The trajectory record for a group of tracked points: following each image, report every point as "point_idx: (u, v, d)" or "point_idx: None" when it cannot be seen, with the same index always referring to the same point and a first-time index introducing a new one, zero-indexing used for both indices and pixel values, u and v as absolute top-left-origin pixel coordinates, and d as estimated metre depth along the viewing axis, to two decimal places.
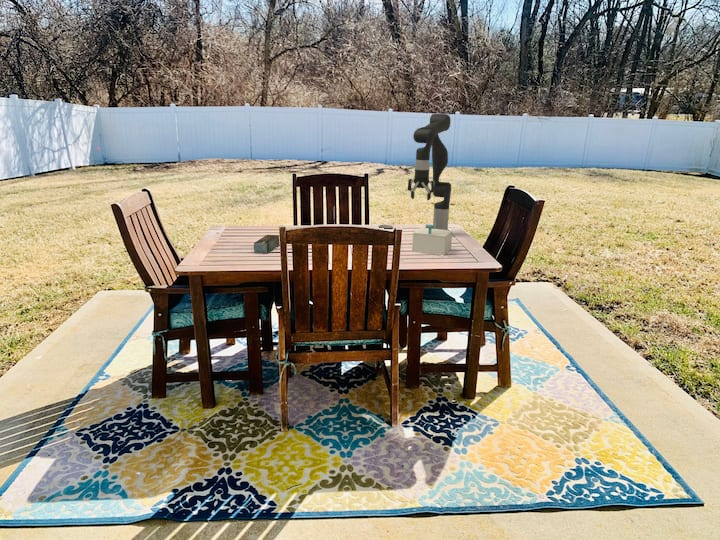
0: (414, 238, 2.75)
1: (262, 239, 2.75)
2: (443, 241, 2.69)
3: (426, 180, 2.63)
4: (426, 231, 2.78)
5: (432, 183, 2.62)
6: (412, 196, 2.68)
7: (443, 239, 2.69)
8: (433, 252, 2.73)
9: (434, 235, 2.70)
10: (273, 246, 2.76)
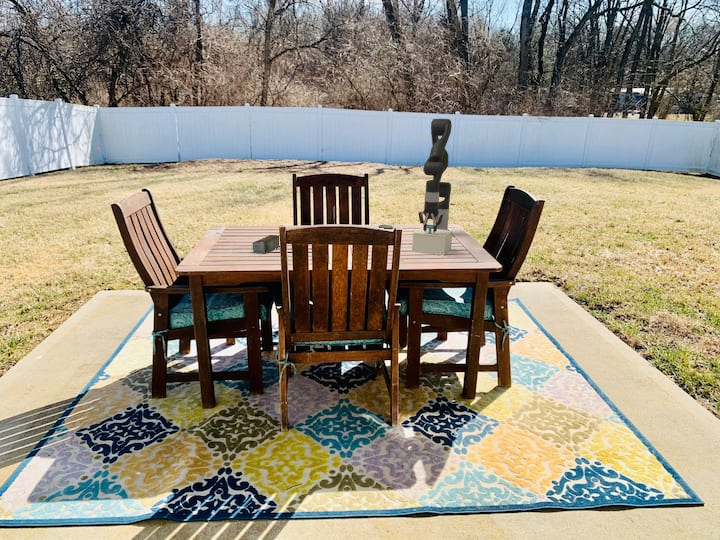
0: (414, 238, 2.75)
1: (263, 239, 2.75)
2: (443, 241, 2.69)
3: (436, 212, 2.66)
4: (426, 231, 2.78)
5: (441, 217, 2.66)
6: (425, 229, 2.72)
7: (443, 239, 2.69)
8: (433, 252, 2.73)
9: (434, 235, 2.70)
10: (273, 246, 2.75)
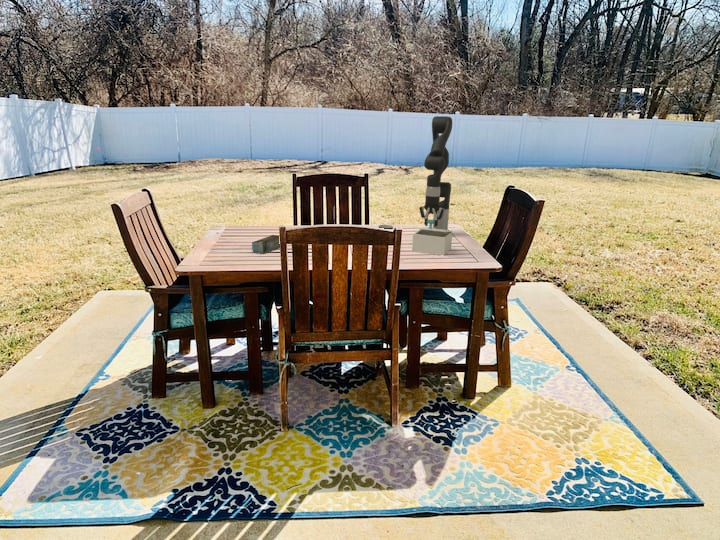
0: (414, 238, 2.75)
1: (263, 239, 2.75)
2: (443, 241, 2.69)
3: (437, 206, 2.67)
4: (426, 228, 2.78)
5: (442, 211, 2.66)
6: (426, 223, 2.72)
7: (443, 239, 2.69)
8: (433, 252, 2.73)
9: (435, 230, 2.69)
10: (273, 247, 2.75)
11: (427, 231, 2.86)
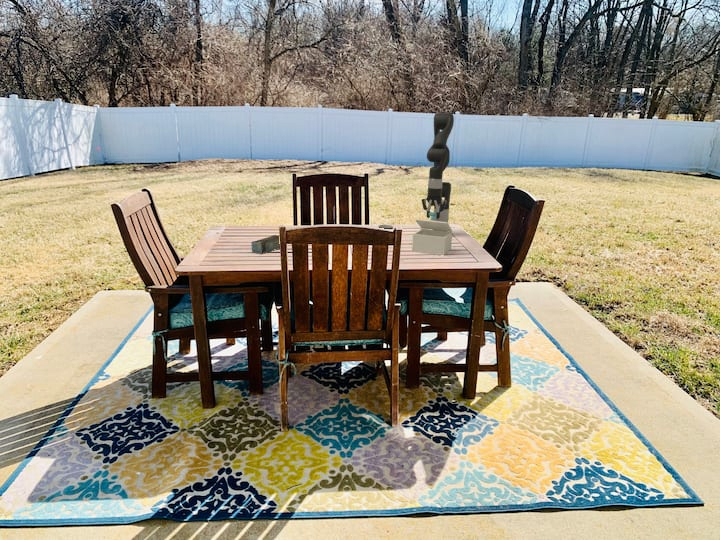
0: (414, 238, 2.75)
1: (263, 239, 2.75)
2: (443, 241, 2.69)
3: (439, 198, 2.69)
4: None
5: (444, 203, 2.68)
6: (428, 215, 2.74)
7: (443, 239, 2.69)
8: (433, 252, 2.73)
9: (436, 221, 2.70)
10: (273, 247, 2.74)
11: (427, 231, 2.86)
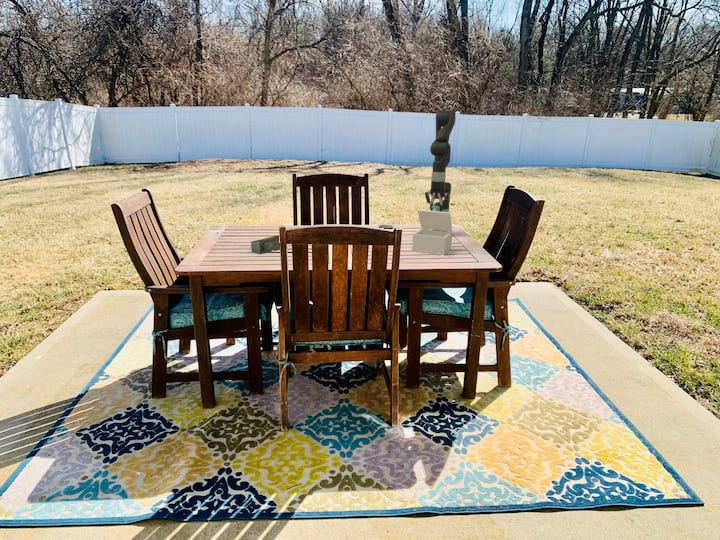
0: (414, 238, 2.75)
1: (264, 239, 2.75)
2: (443, 241, 2.69)
3: (442, 191, 2.73)
4: None
5: (447, 196, 2.72)
6: (431, 208, 2.78)
7: (443, 239, 2.69)
8: (433, 252, 2.73)
9: (439, 212, 2.72)
10: (273, 247, 2.74)
11: (427, 231, 2.86)
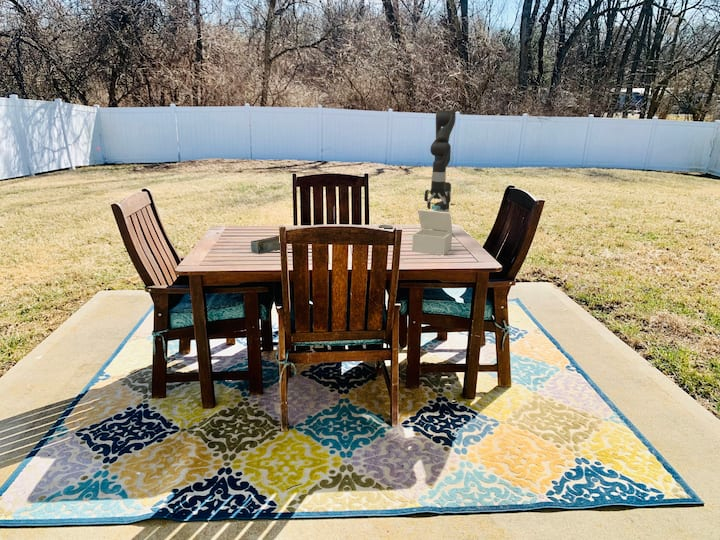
0: (414, 238, 2.75)
1: (264, 239, 2.75)
2: (443, 241, 2.69)
3: (442, 191, 2.73)
4: None
5: (448, 194, 2.72)
6: (428, 206, 2.79)
7: (443, 239, 2.69)
8: (433, 252, 2.73)
9: (439, 211, 2.72)
10: (272, 247, 2.73)
11: (427, 231, 2.86)
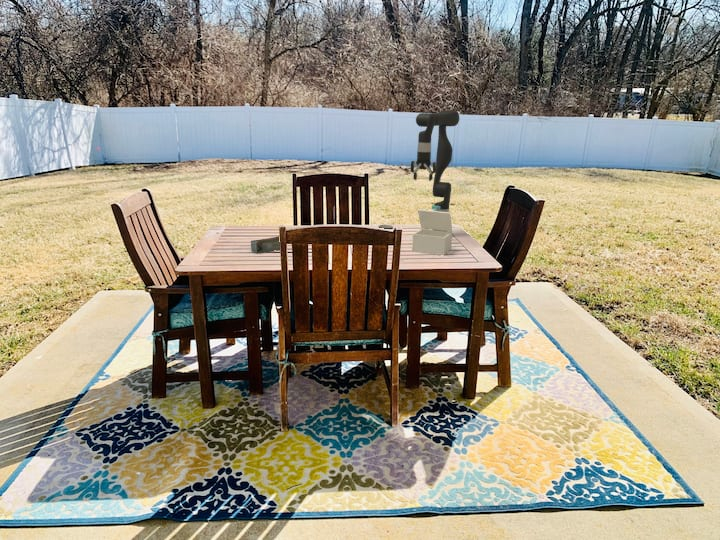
0: (414, 238, 2.75)
1: (265, 239, 2.75)
2: (443, 241, 2.69)
3: (428, 162, 2.79)
4: None
5: (434, 164, 2.78)
6: (415, 177, 2.84)
7: (443, 239, 2.69)
8: (433, 252, 2.73)
9: (439, 211, 2.72)
10: (272, 248, 2.73)
11: (427, 231, 2.86)
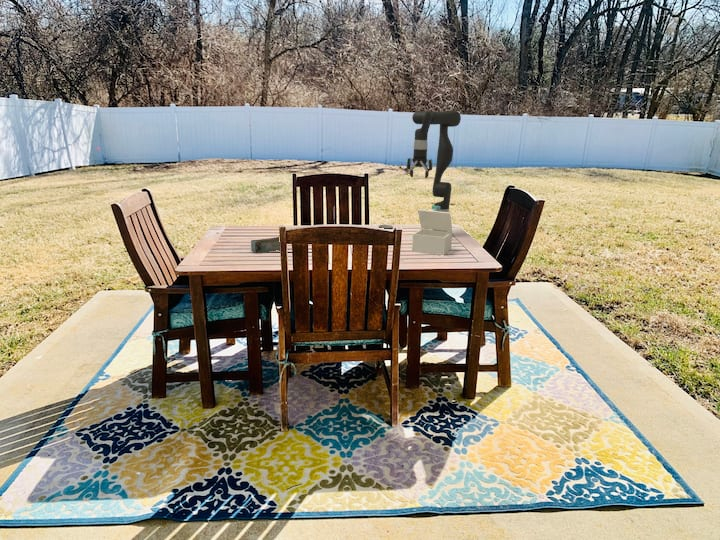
0: (414, 238, 2.75)
1: (265, 239, 2.75)
2: (443, 241, 2.69)
3: (424, 159, 2.81)
4: None
5: (430, 162, 2.80)
6: (411, 174, 2.87)
7: (443, 239, 2.69)
8: (433, 252, 2.73)
9: (439, 211, 2.72)
10: (271, 248, 2.72)
11: (427, 231, 2.86)
